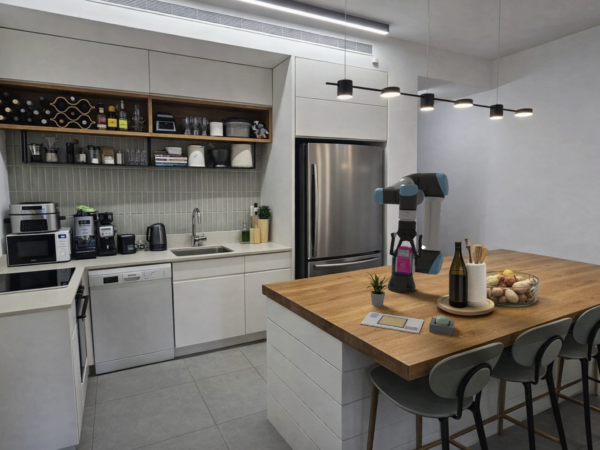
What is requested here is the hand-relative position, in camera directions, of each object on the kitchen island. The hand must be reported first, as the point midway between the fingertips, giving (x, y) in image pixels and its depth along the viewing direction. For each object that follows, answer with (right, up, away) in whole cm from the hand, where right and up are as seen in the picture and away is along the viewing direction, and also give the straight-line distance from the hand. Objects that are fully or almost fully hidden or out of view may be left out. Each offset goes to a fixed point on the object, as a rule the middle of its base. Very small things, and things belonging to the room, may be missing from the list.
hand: (405, 271), depth 176 cm
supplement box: (0, -1, 0) cm, 1 cm away
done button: (+12, -22, -12) cm, 28 cm away
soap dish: (+12, -22, -12) cm, 28 cm away
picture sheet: (-7, -21, -4) cm, 23 cm away
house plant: (-10, -19, +20) cm, 29 cm away
